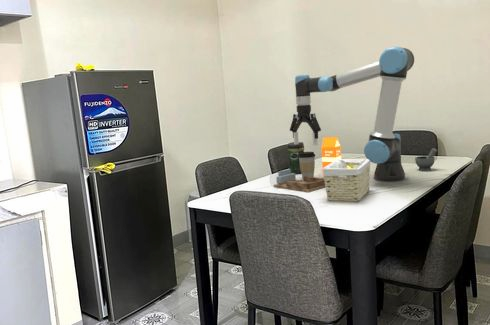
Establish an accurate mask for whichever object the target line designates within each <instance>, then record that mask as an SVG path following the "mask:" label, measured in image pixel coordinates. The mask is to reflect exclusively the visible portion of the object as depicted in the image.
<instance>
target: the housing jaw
mask: <svg viewBox="0 0 490 325" xmlns="http://www.w3.org/2000/svg"><path fill="white" fill-rule="evenodd" d="M277 173H278V174H277V175H278V176H276V184H282V183H286V181H294V180H296V179H297V178H296V174H295V173H291V169H289V168H288V169H283V170H282V169H281V170H280V171H277Z"/></svg>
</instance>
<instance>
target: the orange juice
mask: <svg viewBox="0 0 490 325" xmlns="http://www.w3.org/2000/svg"><path fill="white" fill-rule="evenodd" d="M341 148H342V147H341V143H340V141H339V139H338V137H337V136H329V137H328V136H327V137H326V136H325V137H323V139H322V144H321V148H320V149H321V163H322V169H323V168H324V167H326V166H327V165H329V164H330V163H332V162H334V161H336V160H337V159H342V149H341Z"/></svg>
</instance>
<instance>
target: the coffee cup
mask: <svg viewBox="0 0 490 325" xmlns="http://www.w3.org/2000/svg"><path fill="white" fill-rule="evenodd" d="M298 157H299V160H300V168H301V180H304V177H305V176H307V177H315V168H316V167H315V166H316V165H315V162H316V161H315V157H316V154H315V152H314V151H304V152H301V153H299V155H298Z"/></svg>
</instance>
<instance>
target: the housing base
mask: <svg viewBox="0 0 490 325" xmlns="http://www.w3.org/2000/svg"><path fill="white" fill-rule="evenodd" d="M273 188H276V189H278V188H279V189H285V190H291V191H297V192H302V191H303V193H311V191H312V192H314V191H318V190H321V189H325V188H326V187H325V181H324V177H323V178H322V177H315V176H314V177H307V176H305V177H304V180H303V179H297V178H296V180H294V181H286V183H282V184H278V183H274V184H273Z"/></svg>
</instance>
